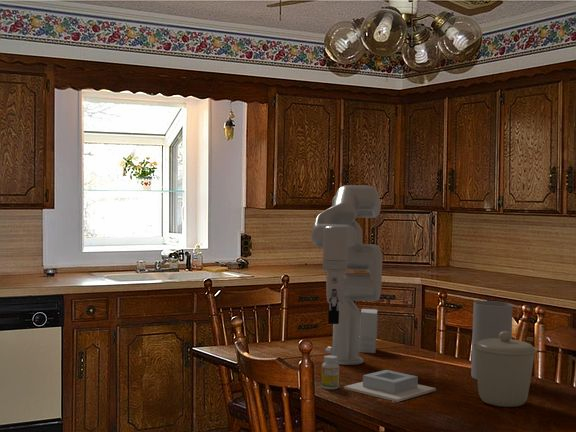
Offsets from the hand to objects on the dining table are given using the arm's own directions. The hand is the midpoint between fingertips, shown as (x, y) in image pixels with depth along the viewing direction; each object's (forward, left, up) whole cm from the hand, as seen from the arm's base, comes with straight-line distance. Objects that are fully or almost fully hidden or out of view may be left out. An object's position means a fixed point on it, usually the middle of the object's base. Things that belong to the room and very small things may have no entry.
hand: (333, 321), depth 243 cm
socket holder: (+14, +12, -21) cm, 27 cm away
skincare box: (-28, +55, -21) cm, 65 cm away
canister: (+45, +25, -21) cm, 55 cm away
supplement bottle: (0, 0, -21) cm, 21 cm away
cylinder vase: (+27, +50, -21) cm, 60 cm away
